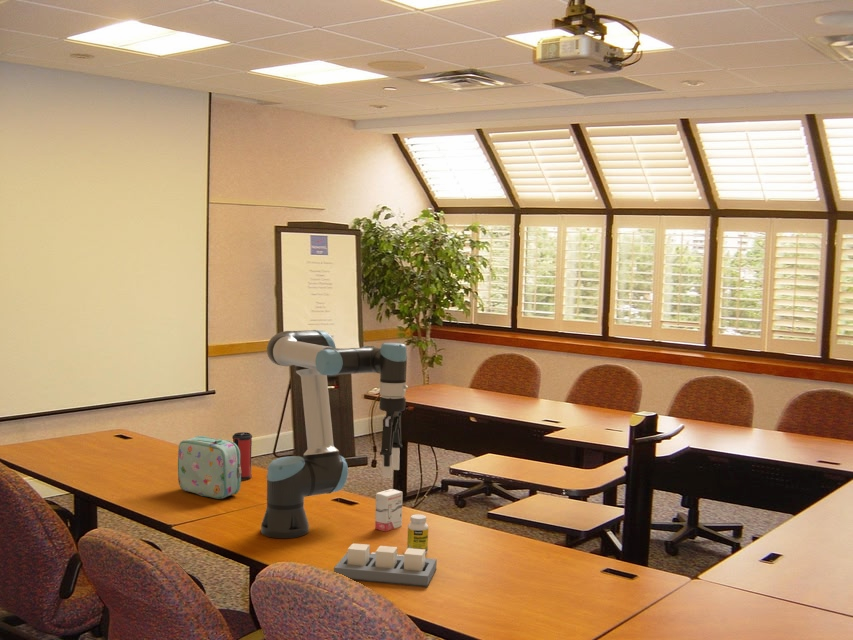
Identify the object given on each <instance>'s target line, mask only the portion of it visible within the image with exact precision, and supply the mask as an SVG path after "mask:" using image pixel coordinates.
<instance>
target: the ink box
mask: <svg viewBox="0 0 853 640" xmlns="http://www.w3.org/2000/svg"><path fill="white" fill-rule="evenodd" d="M403 495H404V494H403V491H401V490H398V489H394V488H390V489H385V490H382V491H379V492H376V494H375V518H374V519H375V521H374V522H375V524H374V527H375V530H379V531H382V532H389V531H391V530H394V529H397V528H401V527H402V526H403Z"/></svg>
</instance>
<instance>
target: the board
mask: <svg viewBox="0 0 853 640" xmlns="http://www.w3.org/2000/svg"><path fill="white" fill-rule="evenodd" d="M347 561H348V551H347V552H346V553H345V554H344V556H343V557H342V558H341V559H340V560H339V561H338V563H337V564H335V566H334V568H333V573H334V572H336V573H339V574H342V575H344V576H346V577H348V578H350V579H353V580H352V581H357V582H359V581H360V582H367V583H369V582H370V583H376V584H377V583H379V584H389V585H398V586H399V585H402V586H409V587H410V586H412V587H422V588H428V587H429V585H430V583H431V581H432V579H433V577H434V575H435V573H436V571H437V559H436V558H430V557H429V558H427V557H425V566H424V568H423V570H422V571H416V570H405V569H404V556H397V564H396V565H395V567H394V568H383V567H375V564H376V554H372V552H371V553H369V562H368V563H367V564H366V566H360V565H349V564H347Z"/></svg>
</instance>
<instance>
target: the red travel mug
mask: <svg viewBox="0 0 853 640" xmlns="http://www.w3.org/2000/svg"><path fill="white" fill-rule="evenodd" d="M231 437H232V442H233V443H235V444H236V445H237V446H238V448H239V450H240V467H241V472H242V473H241V481H248V480H251V479H252V478H253V477H252V442H253V441H252V440H253V435H252V434H251V433H250V432H244V431H243V432H236V433H234V434H233V435H232V436H231Z"/></svg>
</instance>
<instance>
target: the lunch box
mask: <svg viewBox="0 0 853 640" xmlns="http://www.w3.org/2000/svg"><path fill="white" fill-rule="evenodd" d="M177 452H178V453H177V480H178V485H179V488H180V489H181V490H182V491H185V492H190V493H193V494H196V495H199V496H201V497H209V498H213V499H219V500H220V499H221V500H222V499H225V498H227V497H230V496H232V495H237V494H238V493H239V491H240V490H241V483H242V480H241V473H242V472H241V467H240V450H239V448H238V446H237V445H236V444H235V443H233V440H232V441H231V440H228V439H222V438H219V439H217V438H215V437H214V438H213V437H210V436H205V435H197V436H195V437H191V438H189V439H185V440H182V441H181V440H180V443H179V445H178V451H177Z"/></svg>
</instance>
